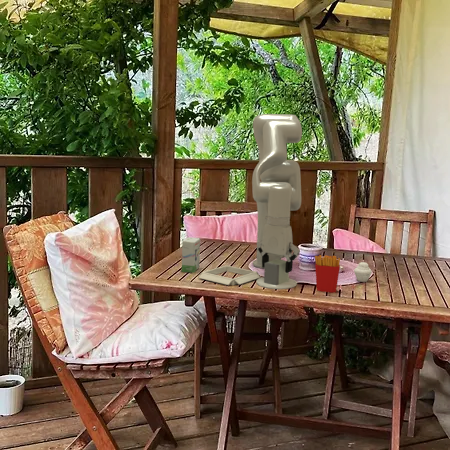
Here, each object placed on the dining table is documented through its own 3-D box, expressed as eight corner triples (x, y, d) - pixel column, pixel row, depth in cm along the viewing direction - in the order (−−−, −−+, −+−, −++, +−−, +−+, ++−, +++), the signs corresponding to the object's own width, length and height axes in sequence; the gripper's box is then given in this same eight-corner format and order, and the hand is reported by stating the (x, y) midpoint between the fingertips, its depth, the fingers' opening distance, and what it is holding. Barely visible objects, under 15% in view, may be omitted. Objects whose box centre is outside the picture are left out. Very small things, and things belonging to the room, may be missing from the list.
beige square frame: (225, 268, 205) (225, 263, 205) (265, 277, 194) (265, 271, 193) (193, 277, 191) (193, 272, 191) (234, 287, 179) (234, 281, 179)
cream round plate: (271, 276, 195) (271, 274, 195) (304, 283, 187) (304, 281, 187) (248, 283, 185) (248, 282, 184) (282, 291, 176) (282, 289, 176)
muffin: (359, 283, 187) (360, 264, 186) (350, 279, 193) (351, 260, 192) (374, 282, 189) (375, 263, 188) (365, 278, 195) (366, 259, 194)
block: (276, 278, 190) (277, 259, 189) (288, 280, 187) (289, 261, 186) (264, 282, 184) (264, 262, 183) (276, 285, 181) (276, 265, 180)
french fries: (339, 290, 179) (341, 255, 177) (338, 293, 175) (340, 257, 173) (313, 287, 181) (315, 253, 179) (312, 290, 178) (313, 255, 176)
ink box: (187, 266, 207) (187, 236, 205) (200, 267, 206) (200, 237, 204) (181, 272, 199) (181, 241, 197) (194, 273, 198) (194, 241, 196)
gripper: (251, 219, 185) (250, 266, 188) (294, 226, 174) (292, 276, 178) (264, 216, 190) (262, 262, 194) (306, 223, 180) (303, 271, 183)
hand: (276, 269), depth 186 cm, fingers open, 9 cm apart
